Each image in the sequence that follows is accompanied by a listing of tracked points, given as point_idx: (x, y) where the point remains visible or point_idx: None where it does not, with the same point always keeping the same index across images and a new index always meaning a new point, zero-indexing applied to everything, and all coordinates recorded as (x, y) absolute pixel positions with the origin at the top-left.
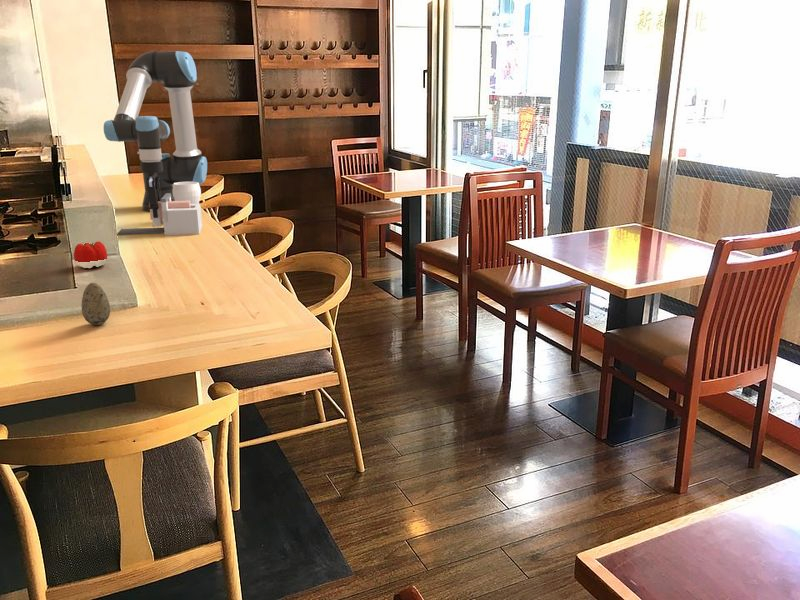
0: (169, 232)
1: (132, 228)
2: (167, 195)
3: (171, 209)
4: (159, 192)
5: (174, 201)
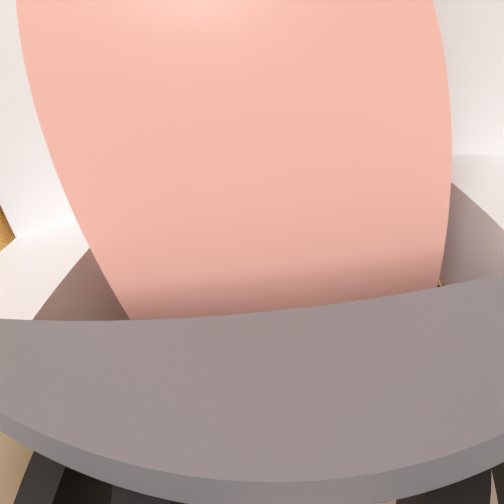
0: None
1: None
2: (88, 461)
3: (502, 84)
4: (60, 499)
5: (126, 69)
